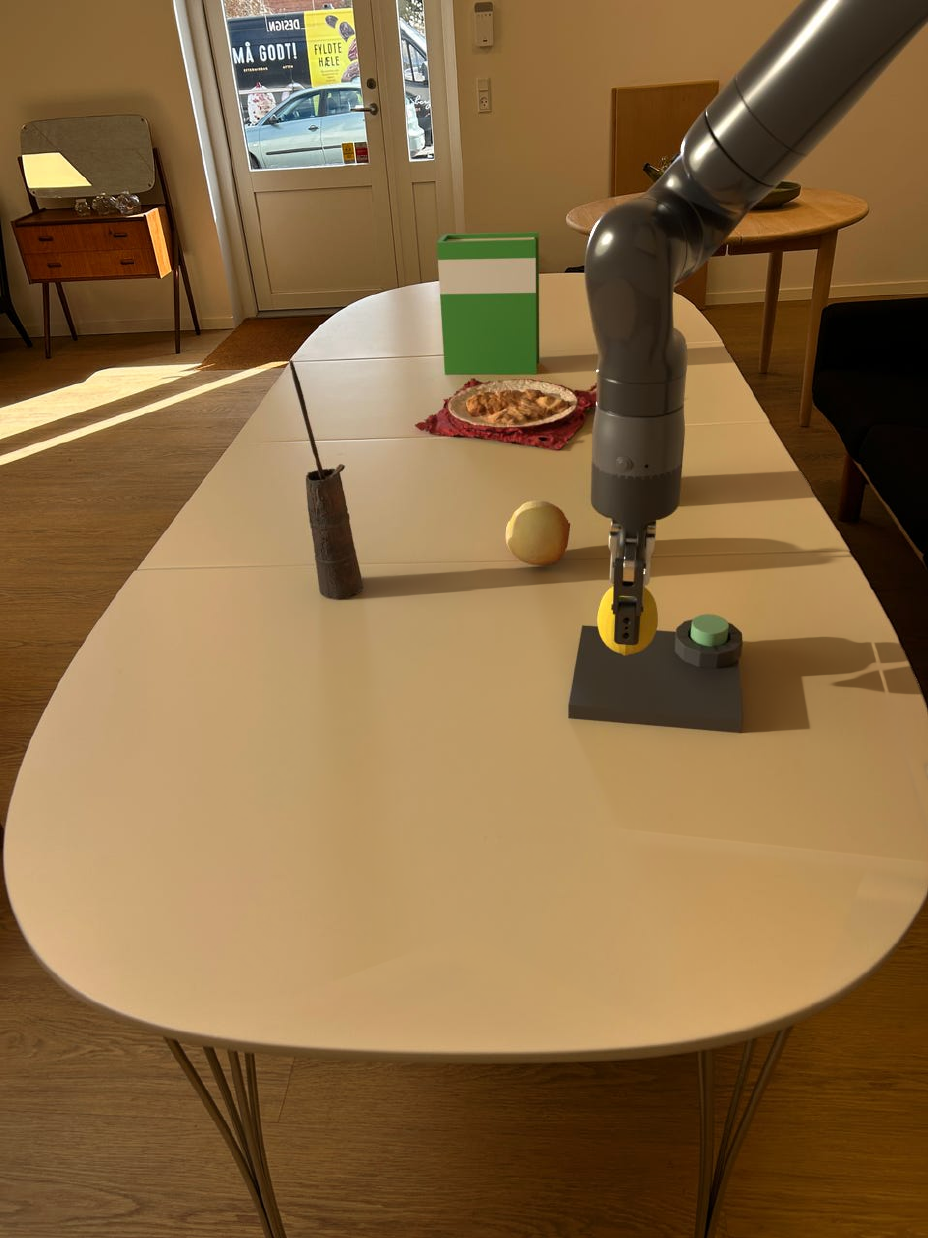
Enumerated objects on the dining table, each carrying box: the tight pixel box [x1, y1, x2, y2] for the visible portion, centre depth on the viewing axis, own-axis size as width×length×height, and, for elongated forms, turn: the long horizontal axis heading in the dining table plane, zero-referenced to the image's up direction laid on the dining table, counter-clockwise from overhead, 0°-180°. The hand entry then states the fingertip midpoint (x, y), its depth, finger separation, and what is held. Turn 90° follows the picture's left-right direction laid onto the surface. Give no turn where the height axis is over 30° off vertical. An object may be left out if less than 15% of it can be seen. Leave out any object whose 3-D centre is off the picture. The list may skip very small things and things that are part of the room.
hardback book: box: [436, 231, 540, 375], centre depth 175 cm, size 18×7×24 cm, turn 82°
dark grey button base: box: [567, 618, 744, 734], centre depth 93 cm, size 16×14×4 cm
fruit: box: [505, 500, 571, 566], centre depth 113 cm, size 8×8×8 cm
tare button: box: [691, 613, 729, 647], centre depth 94 cm, size 4×4×2 cm
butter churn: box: [288, 359, 364, 600], centre depth 105 cm, size 9×10×28 cm
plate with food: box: [414, 377, 597, 451], centre depth 158 cm, size 24×26×4 cm
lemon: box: [596, 585, 659, 656], centre depth 87 cm, size 6×6×8 cm
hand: (628, 623), depth 87 cm, fingers closed on lemon, 5 cm apart
